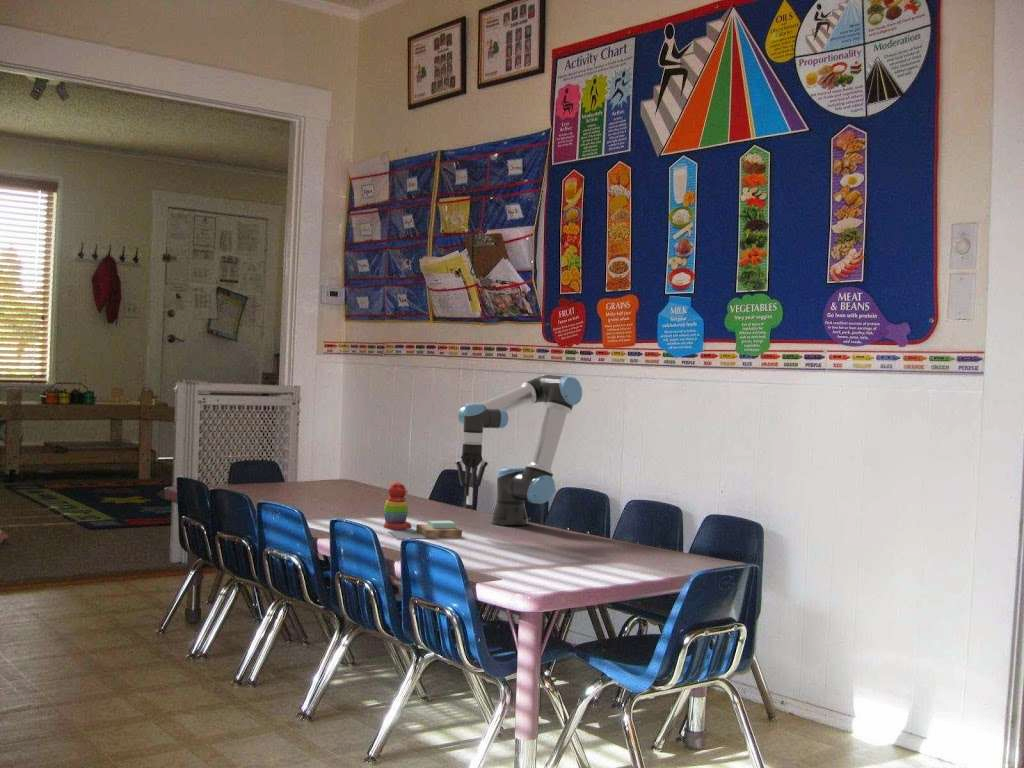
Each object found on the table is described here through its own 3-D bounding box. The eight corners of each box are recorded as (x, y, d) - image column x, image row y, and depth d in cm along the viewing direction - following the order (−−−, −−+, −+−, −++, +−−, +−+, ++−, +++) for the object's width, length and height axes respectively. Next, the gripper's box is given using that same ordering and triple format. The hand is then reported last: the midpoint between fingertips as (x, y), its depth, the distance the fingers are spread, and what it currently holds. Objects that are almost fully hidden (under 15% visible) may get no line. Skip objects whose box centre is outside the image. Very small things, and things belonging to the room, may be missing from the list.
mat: (415, 531, 427) (415, 531, 427) (426, 538, 412) (426, 538, 412) (387, 532, 423) (387, 531, 423) (398, 539, 408) (398, 538, 408)
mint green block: (450, 525, 426) (450, 520, 426) (455, 528, 421) (455, 523, 421) (428, 526, 423) (428, 520, 423) (432, 528, 417) (432, 523, 417)
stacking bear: (404, 530, 429) (406, 484, 429) (379, 528, 431) (381, 483, 431) (412, 526, 440) (414, 482, 439) (388, 524, 442) (389, 480, 441)
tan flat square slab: (450, 531, 431) (451, 524, 430) (461, 537, 417) (462, 529, 417) (416, 532, 426) (416, 524, 426) (426, 538, 413) (426, 530, 413)
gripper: (485, 443, 431) (482, 503, 431) (453, 442, 426) (450, 502, 426) (491, 444, 424) (488, 505, 424) (459, 443, 419) (455, 505, 419)
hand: (469, 504), depth 425 cm, fingers closed
